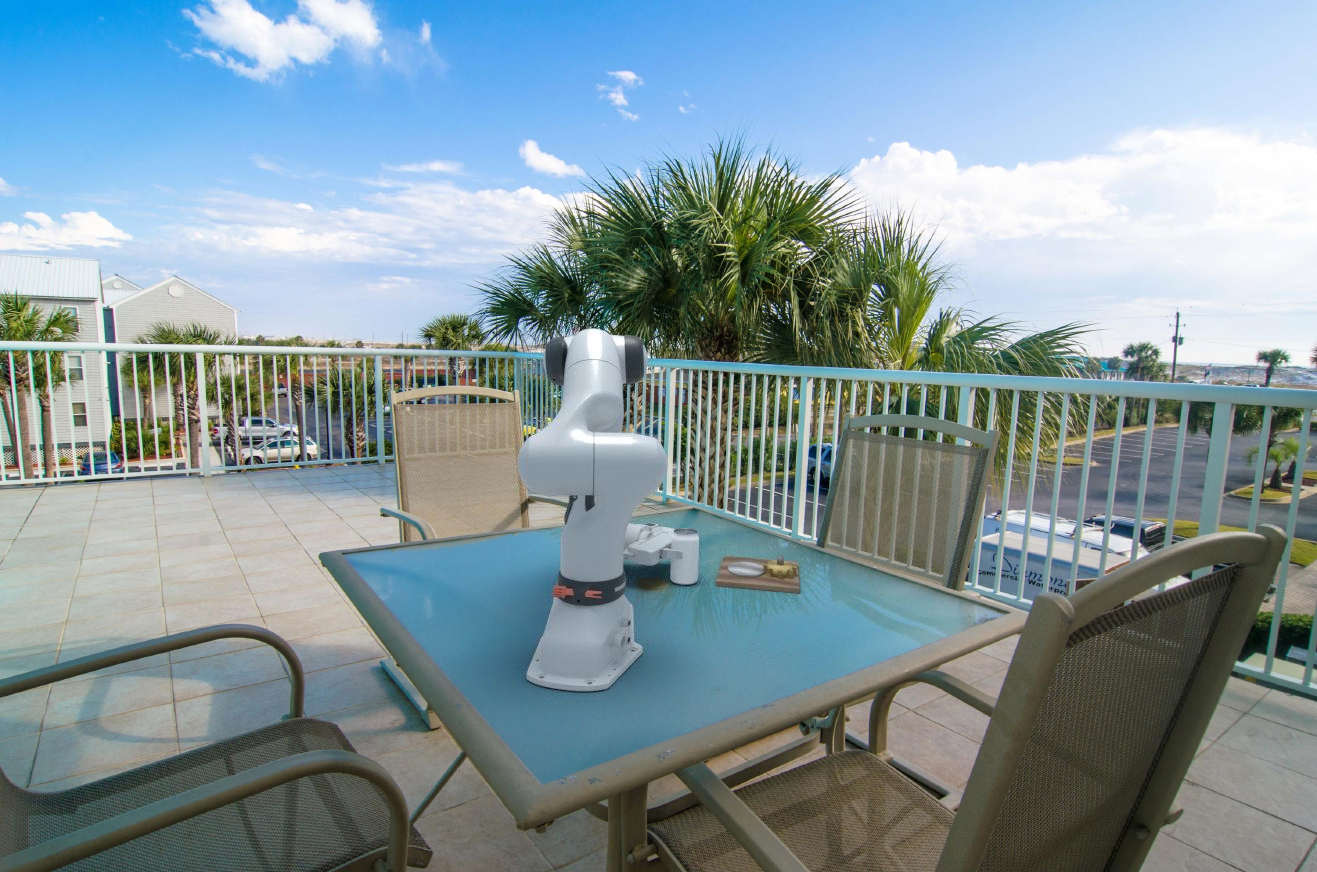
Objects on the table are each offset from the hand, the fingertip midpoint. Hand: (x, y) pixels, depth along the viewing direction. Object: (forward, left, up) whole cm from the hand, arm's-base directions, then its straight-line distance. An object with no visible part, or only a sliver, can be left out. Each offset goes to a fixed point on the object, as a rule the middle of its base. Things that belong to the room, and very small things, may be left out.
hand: (689, 551), depth 151 cm
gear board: (+8, -16, -7) cm, 20 cm away
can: (0, +1, -7) cm, 7 cm away
